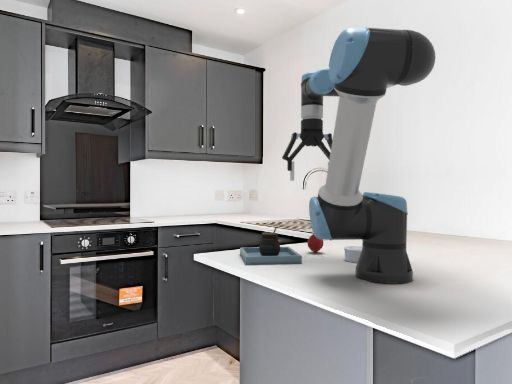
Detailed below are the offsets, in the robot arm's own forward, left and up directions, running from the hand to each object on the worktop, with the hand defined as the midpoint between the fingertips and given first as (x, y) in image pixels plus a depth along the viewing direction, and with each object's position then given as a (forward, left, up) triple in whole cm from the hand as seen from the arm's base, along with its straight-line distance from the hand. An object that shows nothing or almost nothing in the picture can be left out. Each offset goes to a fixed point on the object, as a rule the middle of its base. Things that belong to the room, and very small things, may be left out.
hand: (311, 180), depth 137 cm
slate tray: (-1, +15, -27) cm, 30 cm away
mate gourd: (-1, +15, -26) cm, 30 cm away
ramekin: (-7, -14, -27) cm, 31 cm away
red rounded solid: (+8, -4, -27) cm, 28 cm away
